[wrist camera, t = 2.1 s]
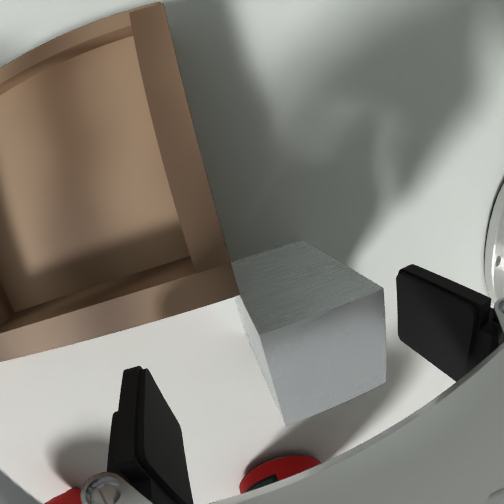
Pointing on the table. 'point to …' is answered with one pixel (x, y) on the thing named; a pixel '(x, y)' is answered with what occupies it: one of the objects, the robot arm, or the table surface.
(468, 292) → the robot arm
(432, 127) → the table surface
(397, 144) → the table surface
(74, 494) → the strawberry
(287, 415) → the grey block
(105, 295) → the wooden divided tray
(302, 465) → the beverage can
